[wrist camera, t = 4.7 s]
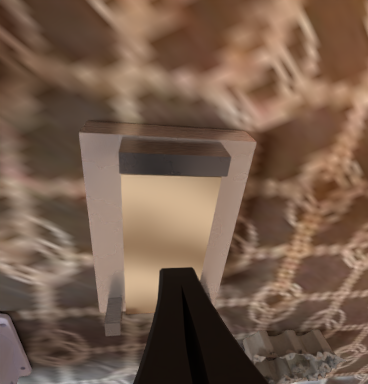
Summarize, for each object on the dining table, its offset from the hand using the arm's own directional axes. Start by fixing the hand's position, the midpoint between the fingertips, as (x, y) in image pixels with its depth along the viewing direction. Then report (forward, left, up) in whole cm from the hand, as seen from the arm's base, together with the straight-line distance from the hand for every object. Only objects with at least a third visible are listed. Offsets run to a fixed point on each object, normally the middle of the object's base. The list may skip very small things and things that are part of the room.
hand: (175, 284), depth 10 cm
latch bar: (-3, 0, -5) cm, 6 cm away
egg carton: (-21, -15, -8) cm, 27 cm away
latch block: (-2, 0, -7) cm, 8 cm away
